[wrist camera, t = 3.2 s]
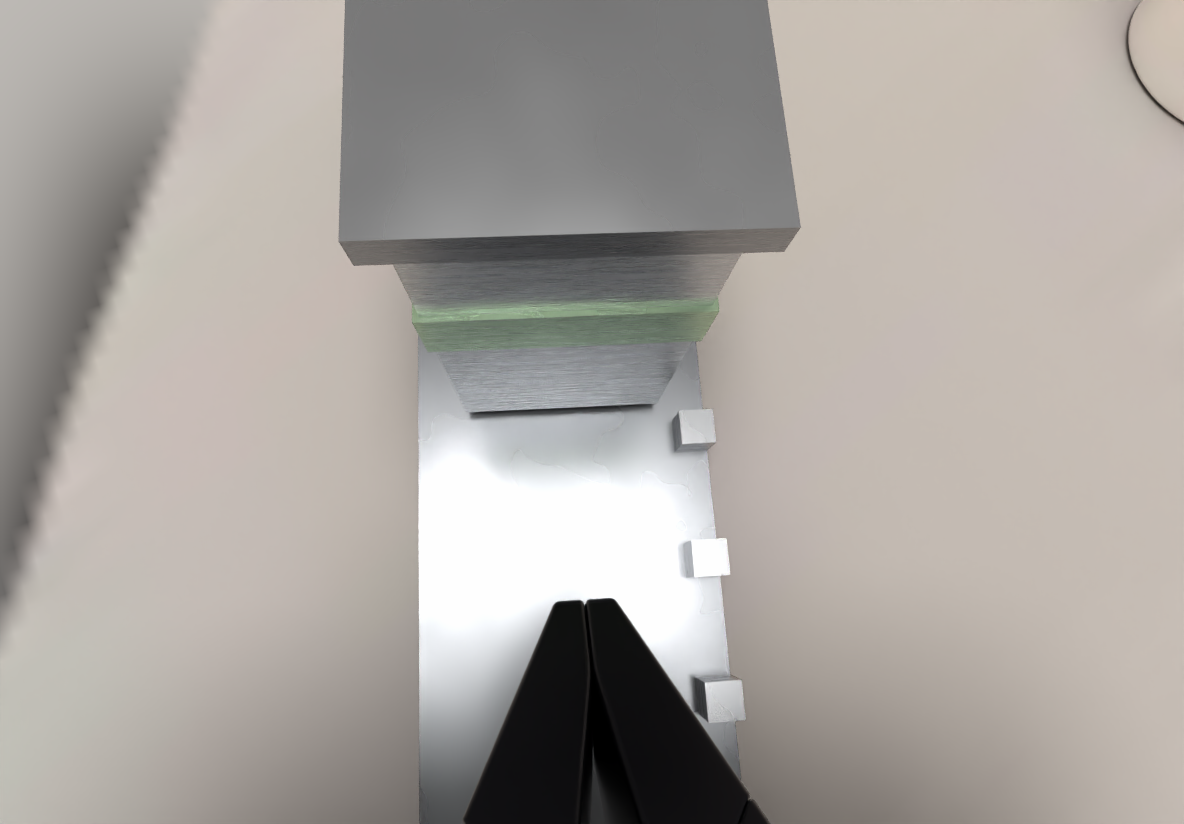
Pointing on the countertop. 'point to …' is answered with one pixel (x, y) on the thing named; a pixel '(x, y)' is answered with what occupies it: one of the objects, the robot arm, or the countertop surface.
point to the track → (560, 559)
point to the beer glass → (1160, 51)
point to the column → (562, 182)
